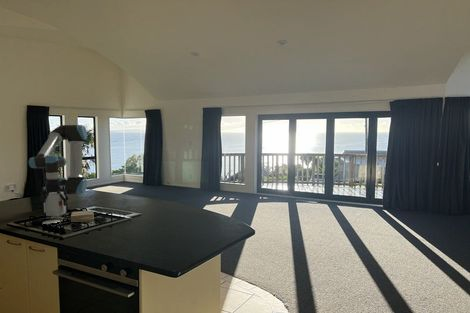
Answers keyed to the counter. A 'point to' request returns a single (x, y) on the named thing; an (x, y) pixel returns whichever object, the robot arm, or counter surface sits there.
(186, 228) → the counter surface
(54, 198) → the supplement box
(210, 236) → the counter surface
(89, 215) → the maple block
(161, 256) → the counter surface
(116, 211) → the counter surface
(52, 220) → the cream smooth round part
